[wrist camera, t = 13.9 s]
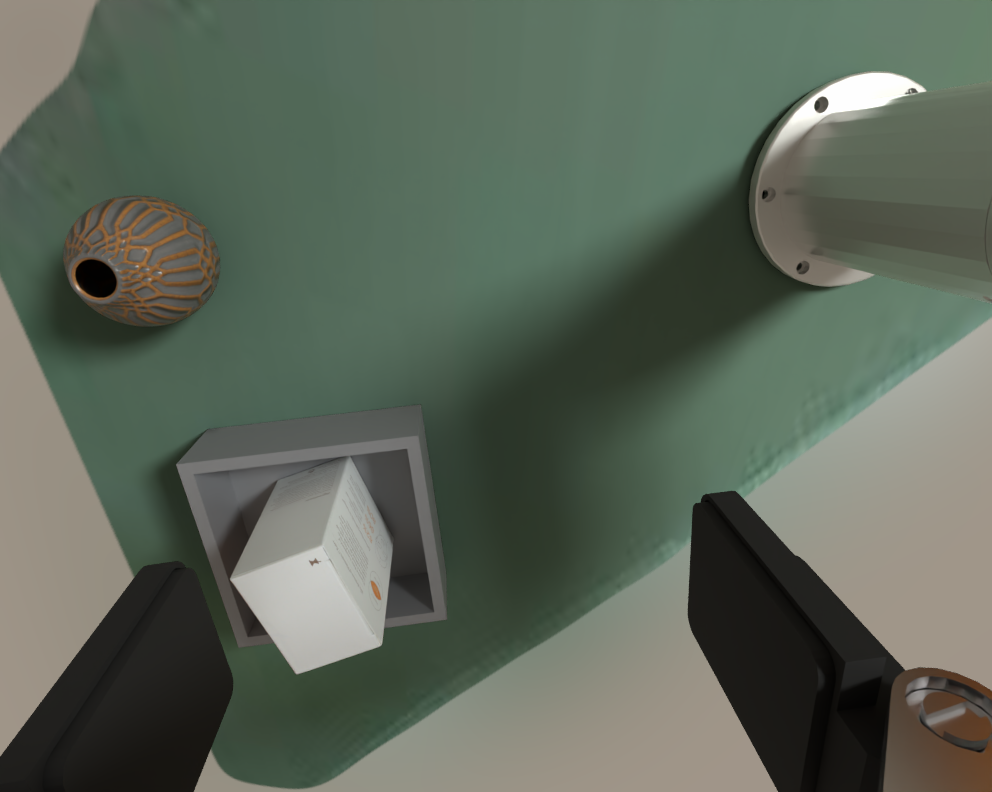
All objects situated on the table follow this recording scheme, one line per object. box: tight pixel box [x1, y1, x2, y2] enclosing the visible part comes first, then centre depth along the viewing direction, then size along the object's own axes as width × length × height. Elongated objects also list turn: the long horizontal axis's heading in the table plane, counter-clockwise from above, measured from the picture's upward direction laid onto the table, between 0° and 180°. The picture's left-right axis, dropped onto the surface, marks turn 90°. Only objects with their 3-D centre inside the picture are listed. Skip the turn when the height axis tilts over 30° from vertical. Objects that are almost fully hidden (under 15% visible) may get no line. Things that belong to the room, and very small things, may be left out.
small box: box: [230, 456, 394, 674], centre depth 37 cm, size 8×6×10 cm
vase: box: [63, 196, 220, 327], centre depth 31 cm, size 7×7×9 cm
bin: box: [176, 404, 447, 648], centre depth 40 cm, size 15×15×5 cm
